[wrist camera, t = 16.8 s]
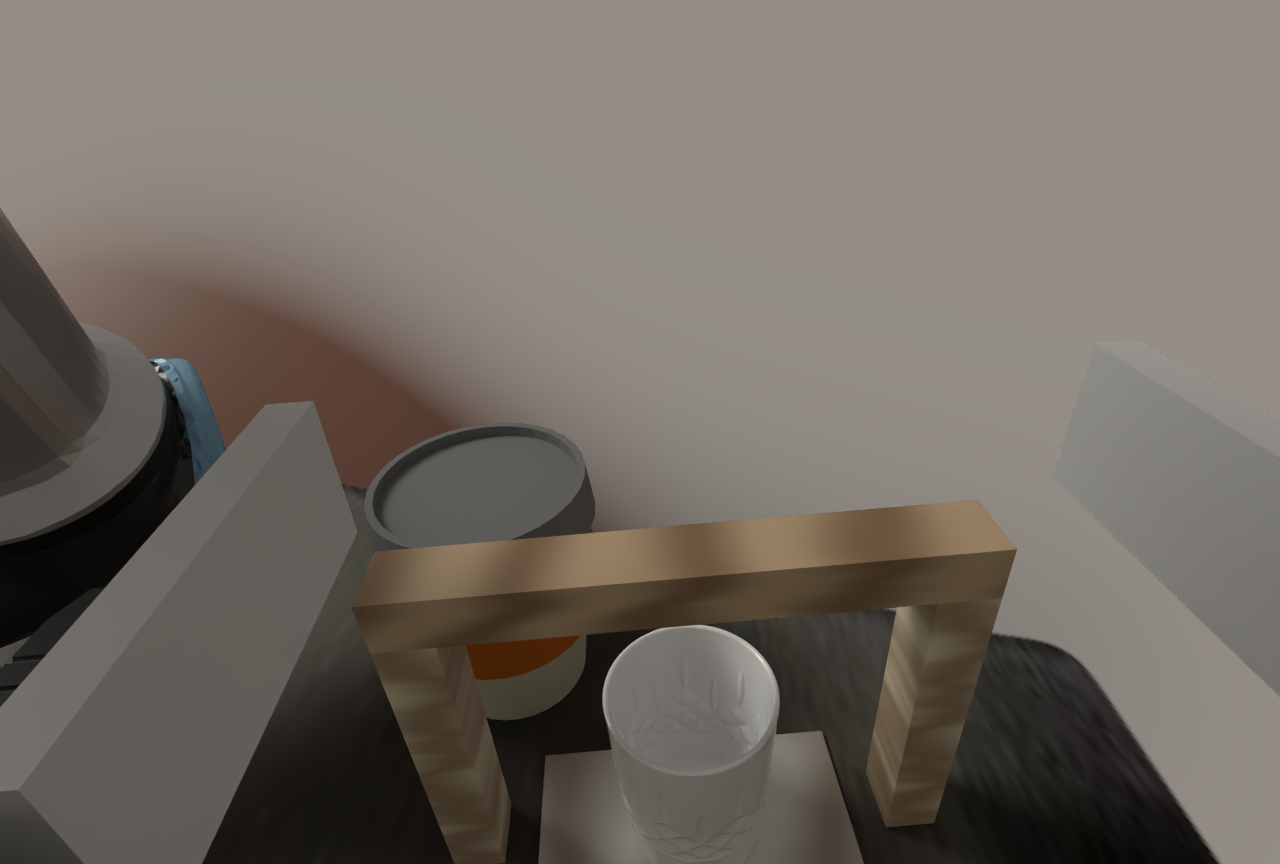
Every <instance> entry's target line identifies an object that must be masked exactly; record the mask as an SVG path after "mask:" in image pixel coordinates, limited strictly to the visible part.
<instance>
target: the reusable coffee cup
mask: <svg viewBox="0 0 1280 864" xmlns="http://www.w3.org/2000/svg"><path fill="white" fill-rule="evenodd" d="M364 508H365V514H366V519H367V524H368V529H369V534H370V539H371V544H372V549H373V554H374V552H376V551H388V550H400V549H412V548H423V547H435V546H447V545H458V544H470V543H482V542H493V541H505V540H517V539H528V538H540V537H552V536H563V535H575V534H587V533H593V532H592V529H591V526H592V522H593V519H594V516H595V500H594V497H593V493H592V489H591V485H590V481H589V477H588V474H587V470H586V466H585V462H584V459H583V456H582V453H581V452H580V451H579V449H578V448H577V446H576V445H575V444H574V443H573V442H572V441H570V440H569V439H568V438H566V437H565V436H563V435H561V434H559V433H557V432H555V431H553V430H550V429H547V428H543V427H539V426H536V425H528V424H522V423H492V424H481V425H475V426H470V427H464V428H461V429H457V430H453V431H449V432H446V433H443V434H441V435H438V436H435V437H432V438H430V439H427V440H425V441H423V442H421V443H419V444H417V445H415V446H413V447H411V448H409V449H408V450H406V451H405V452H403V453H402V454H400V455H399V456H397V457H395V458H394V459H393V460H392V461H391V462H390V463H388V464H387V465H386V466H385V467H384V468H383V469H382V470H381V471H380V472H379V473H378V475H377V476H376V477H375V478H374V480H373V481H372V483H371V485H370V487H369V489H368V491H367V493H366V497H365V503H364ZM465 646H466V649H467V652H468V656H469V659H470V663H471V666H472V670H473V673H474V677H475V680H476V684H477V687H478V690H479V694H480V697H481V701H482V704H483V708H484V711H485V715H486V718H489V719H496V720H516V719H522V718H526V717H530V716H534V715H536V714H538V713H541V712H543V711H545V710H547V709H549V708H550V707H552V706H554V705H555V704H557V703H558V702H560V701H561V700H562V699H563V698H564V697H565V696H566V695H567V694H569V693H570V691H571V690H572V689H573V687H574V686H575V685H576V684H577V682H578V680H579V678H580V676H581V674H582V672H583V669H584V665H585V662H586V635H577V636H566V637H554V638H543V639H531V640H520V641H509V642H497V643H486V644H475V645H465Z"/></svg>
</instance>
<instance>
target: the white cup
mask: <svg viewBox="0 0 1280 864" xmlns="http://www.w3.org/2000/svg"><path fill="white" fill-rule="evenodd" d="M602 701H603V711H604V716H605V720H606V725H607V729H608V734H609V739H610V743H611V748H612V753H613V758H614V763H615V768H616V772H617V776H618V779H619V784H620V789H621V792H622V795H623V800H624V804H625V807H626V809H627V811H628V812H629V816H630V820H631V824H632V827H633V831H634V835H635V839H636V842H637V846H638V848H639V849H640V850H641V851H642V852H643V853H644V855H645V856H646V857H647V858H648V859H649V860H650V862H651V863H652V864H743V863H744V862H745V860H746V858H747V856H748V854H749V852H750V851H751V849H752V847H753V845H754V843H755V841H756V840H757V838H758V835H759V827H760V819H761V813H762V810H763V807H764V803H765V799H766V794H767V787H768V782H769V777H770V772H771V766H772V758H773V751H774V744H775V736H776V729H777V722H778V715H779V708H780V695H779V689H778V684H777V681H776V678H775V676H774V673H773V671H772V669H771V668H770V666H769V664H768V663H767V661H766V660H765V659H764V657H763V656H762V655H761V654H760V653H759V652H758V651H757V650H756V649H755V648H754V647H753V646H752V645H750V644H749V643H748V642H746V641H745V640H743V639H742V638H740V637H738V636H736V635H734V634H732V633H730V632H728V631H725V630H722V629H719V628H716V627H711V626H706V625H691V626H679V627H668V628H660V629H657V630H655V631H652V632H650V633H647V634H645V635H643V636H642V637H640V638H638V639H637V640H635V641H634V642H632V643H631V644H630V645H629V646H627V647H626V648H625V649H624V650H623V651H622V652H621V653H620V654H619V656H618V657H617V658H616V660H615V661H614V662H613V664H612V666H611V668H610V669H609V672H608V674H607V676H606V679H605V683H604V688H603V697H602Z"/></svg>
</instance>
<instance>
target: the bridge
mask: <svg viewBox="0 0 1280 864" xmlns="http://www.w3.org/2000/svg"><path fill="white" fill-rule="evenodd" d="M1016 551H1017V549H1016V548H1015V546H1014V545H1013V544H1012V542H1011V541H1010V540H1009V539H1008V537H1007V536H1006V535H1005V534H1004V532H1003V531H1002V530H1001V529H1000V527H999V526H998V525H997V524H996V523H995V521H994V520H993V519H992V517H991V516H990V515H989V514H988V512H987V511H986V510H985V509H984V507H983V506H982V505H981V504H980V503H979V501H978V500H973V501H961V502H949V503H938V504H926V505H915V506H903V507H891V508H879V509H868V510H856V511H844V512H834V513H821V514H811V515H797V516H786V517H775V518H762V519H751V520H739V521H727V522H715V523H704V524H692V525H680V526H669V527H657V528H645V529H634V530H623V531H611V532H599V533H587V534H575V535H563V536H552V537H540V538H528V539H517V540H505V541H493V542H482V543H470V544H458V545H447V546H435V547H423V548H412V549H400V550H388V551H376V552H374V554H373V556H372V559H371V561H370V564H369V566H368V568H367V571H366V573H365V576H364V578H363V580H362V583H361V585H360V588H359V590H358V593H357V595H356V597H355V600H354V602H353V605H352V610H353V612H354V615H355V617H356V620H357V622H358V625H359V627H360V630H361V632H362V635H363V637H364V640H365V642H366V645H367V647H368V650H369V652H370V655H371V657H372V660H373V662H374V664H375V667H376V669H377V672H378V674H379V677H380V679H381V682H382V684H383V687H384V689H385V692H386V694H387V697H388V699H389V702H390V704H391V707H392V709H393V712H394V714H395V717H396V719H397V722H398V724H399V727H400V729H401V732H402V734H403V737H404V739H405V742H406V744H407V747H408V749H409V752H410V754H411V757H412V759H413V762H414V764H415V767H416V769H417V772H418V774H419V777H420V779H421V782H422V784H423V787H424V789H425V792H426V794H427V797H428V799H429V802H430V804H431V807H432V809H433V812H434V814H435V817H436V819H437V822H438V824H439V826H440V829H441V831H442V834H443V836H444V839H445V841H446V844H447V846H448V849H449V851H450V854H451V856H452V859H453V861H454V864H499V863H505V861H506V851H507V842H508V832H509V823H510V814H511V801H510V798H509V794H508V791H507V787H506V784H505V780H504V777H503V773H502V770H501V766H500V763H499V760H498V756H497V753H496V749H495V746H494V742H493V739H492V735H491V732H490V728H489V725H488V722H487V718H486V715H485V711H484V708H483V704H482V701H481V697H480V694H479V690H478V687H477V684H476V680H475V677H474V673H473V670H472V666H471V663H470V659H469V656H468V652H467V649H466V646H465V645H475V644H486V643H497V642H509V641H520V640H531V639H543V638H554V637H566V636H577V635H588V634H600V633H611V632H623V631H634V630H645V629H657V628H668V627H679V626H691V625H702V624H714V623H725V622H736V621H748V620H759V619H770V618H782V617H793V616H805V615H816V614H827V613H839V612H850V611H862V610H873V609H884V608H896V607H897V612H896V617H895V622H894V627H893V632H892V638H891V643H890V648H889V653H888V659H887V664H886V669H885V674H884V679H883V685H882V690H881V695H880V700H879V705H878V711H877V716H876V721H875V726H874V732H873V737H872V742H871V747H870V752H869V758H868V763H867V768H866V774H867V777H868V780H869V782H870V785H871V788H872V791H873V794H874V796H875V799H876V802H877V805H878V807H879V810H880V813H881V816H882V819H883V821H884V824H885V827H886V828H887V827H898V826H908V825H919V824H930V823H934V822H935V818H936V815H937V812H938V808H939V805H940V802H941V799H942V795H943V792H944V789H945V785H946V782H947V779H948V775H949V772H950V769H951V766H952V762H953V759H954V756H955V752H956V749H957V746H958V742H959V739H960V736H961V732H962V729H963V726H964V723H965V719H966V716H967V713H968V709H969V706H970V703H971V699H972V696H973V693H974V690H975V686H976V683H977V680H978V676H979V673H980V670H981V666H982V663H983V660H984V656H985V653H986V650H987V647H988V643H989V640H990V637H991V633H992V630H993V627H994V623H995V620H996V617H997V613H998V610H999V607H1000V604H1001V600H1002V597H1003V594H1004V590H1005V587H1006V584H1007V581H1008V577H1009V573H1010V571H1011V567H1012V564H1013V561H1014V557H1015V554H1016ZM538 864H652V863H651V862H650V860H649V859H648V858H647V857H646V856H645V855H644V853H643V852H642V851H641V850H640V849H639V848H638V846H637V842H636V839H635V835H634V831H633V827H632V824H631V820H630V816H629V812H628V811H627V809H626V807H625V804H624V800H623V795H622V792H621V789H620V784H619V779H618V776H617V772H616V768H615V763H614V758H613V753H612V750H603V751H591V752H580V753H569V754H558V755H547V756H546V758H545V773H544V787H543V802H542V817H541V832H540V847H539V862H538ZM743 864H864V862H863V859H862V856H861V853H860V850H859V846H858V843H857V840H856V837H855V834H854V831H853V828H852V824H851V821H850V818H849V815H848V812H847V809H846V806H845V803H844V799H843V796H842V793H841V790H840V787H839V784H838V781H837V777H836V774H835V771H834V768H833V765H832V762H831V759H830V755H829V752H828V749H827V746H826V743H825V740H824V737H823V733H822V731H812V732H801V733H790V734H779V735H776V736H775V744H774V751H773V758H772V766H771V772H770V777H769V782H768V787H767V794H766V799H765V803H764V807H763V810H762V813H761V819H760V827H759V835H758V838H757V840H756V841H755V843H754V845H753V847H752V849H751V851H750V852H749V854H748V856H747V858H746V860H745V862H744V863H743Z"/></svg>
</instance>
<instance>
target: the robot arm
mask: <svg viewBox="0 0 1280 864" xmlns="http://www.w3.org/2000/svg"><path fill="white" fill-rule="evenodd" d="M1052 478H1053V479H1054V480H1055V481H1056V482H1058V483H1059V484H1060V485H1061V486H1062V487H1063V488H1064V489H1065V490H1066V491H1067V492H1068V493H1069V494H1070V495H1071V496H1072V497H1073V498H1074V499H1075V500H1076V501H1077V502H1078V503H1079V504H1080V505H1081V506H1083V507H1084V509H1085V510H1087V511H1088V512H1089V513H1090V514H1091V515H1092V516H1093V517H1094V518H1095V519H1096V520H1097V521H1098V522H1099V523H1100V524H1101V525H1102V526H1103V527H1104V528H1105V529H1106V530H1107V531H1108V532H1109V533H1110V534H1111V535H1113V536H1114V537H1115V538H1116V539H1117V540H1118V541H1119V542H1120V543H1121V544H1122V545H1123V546H1124V547H1125V548H1126V549H1127V550H1128V551H1129V552H1130V553H1131V554H1132V555H1133V556H1134V557H1135V558H1136V559H1137V560H1138V561H1139V562H1140V563H1141V564H1143V565H1144V566H1145V567H1146V568H1147V569H1148V570H1149V571H1150V572H1151V573H1152V574H1153V575H1154V576H1155V577H1156V578H1157V579H1158V580H1159V581H1160V582H1161V583H1162V584H1163V585H1164V586H1165V587H1166V588H1167V589H1169V590H1170V591H1171V592H1172V593H1173V594H1174V595H1175V596H1176V597H1177V598H1178V599H1179V600H1180V601H1181V602H1182V603H1183V604H1184V605H1185V606H1186V607H1187V608H1188V609H1189V610H1190V611H1191V612H1192V613H1193V614H1194V615H1195V616H1196V617H1197V618H1199V619H1200V620H1201V621H1202V622H1203V623H1204V624H1205V625H1206V626H1207V627H1208V628H1209V629H1210V630H1211V631H1212V632H1213V633H1214V634H1215V635H1216V636H1217V637H1218V638H1219V639H1220V640H1221V641H1222V642H1223V643H1225V644H1226V645H1227V646H1228V647H1229V648H1230V649H1231V650H1232V651H1233V652H1234V653H1235V654H1236V655H1237V656H1238V657H1239V658H1240V659H1241V660H1242V661H1243V662H1244V663H1245V664H1246V665H1247V666H1248V667H1249V668H1251V669H1252V671H1253V672H1255V673H1256V674H1257V675H1258V676H1259V677H1260V678H1261V679H1262V680H1263V681H1264V682H1265V683H1266V684H1267V685H1268V686H1269V687H1270V688H1271V689H1272V690H1273V691H1274V692H1275V693H1276V694H1277V695H1278V696H1279V697H1280V419H1278V418H1277V417H1275V416H1273V415H1271V414H1269V413H1268V412H1266V411H1264V410H1262V409H1260V408H1258V407H1257V406H1255V405H1253V404H1251V403H1250V402H1248V401H1246V400H1244V399H1243V398H1241V397H1239V396H1237V395H1235V394H1234V393H1232V392H1230V391H1228V390H1227V389H1225V388H1223V387H1221V386H1220V385H1218V384H1216V383H1214V382H1212V381H1210V380H1209V379H1207V378H1205V377H1203V376H1202V375H1200V374H1198V373H1196V372H1195V371H1193V370H1191V369H1189V368H1187V367H1186V366H1184V365H1182V364H1180V363H1178V362H1177V361H1175V360H1173V359H1171V358H1169V357H1168V356H1166V355H1164V354H1162V353H1161V352H1159V351H1157V350H1155V349H1154V348H1152V347H1150V346H1148V345H1146V344H1145V343H1143V342H1141V341H1139V340H1129V341H1116V342H1103V343H1094V345H1093V348H1092V351H1091V354H1090V357H1089V361H1088V364H1087V367H1086V370H1085V373H1084V376H1083V380H1082V383H1081V386H1080V389H1079V392H1078V396H1077V399H1076V402H1075V405H1074V408H1073V411H1072V415H1071V418H1070V421H1069V424H1068V427H1067V430H1066V434H1065V437H1064V440H1063V443H1062V446H1061V449H1060V453H1059V456H1058V459H1057V462H1056V465H1055V468H1054V472H1053V475H1052ZM356 534H357V529H356V526H355V523H354V520H353V517H352V514H351V511H350V508H349V505H348V502H347V500H346V497H345V494H344V491H343V488H342V485H341V482H340V479H339V476H338V473H337V470H336V467H335V464H334V461H333V458H332V455H331V453H330V450H329V447H328V444H327V441H326V438H325V435H324V432H323V429H322V426H321V423H320V420H319V418H318V414H317V411H316V409H315V406H314V402H313V401H307V402H295V403H280V404H267V405H265V406H264V407H263V409H262V410H261V411H260V412H259V413H258V414H257V416H256V417H255V418H254V419H253V420H252V421H251V422H250V423H249V424H248V426H247V427H246V428H245V429H244V430H243V431H242V432H241V434H240V435H239V436H238V437H237V438H236V439H235V440H234V442H233V443H232V444H231V445H230V446H229V447H228V448H227V450H226V448H225V445H224V442H223V439H222V435H221V433H220V430H219V427H218V424H217V421H216V418H215V416H214V413H213V410H212V408H211V405H210V402H209V399H208V397H207V394H206V392H205V389H204V387H203V384H202V382H201V380H200V377H199V375H198V374H197V371H196V369H195V368H194V367H193V366H192V364H191V363H190V362H188V361H185V360H183V359H180V358H172V359H162V358H157V357H156V358H155V359H150V360H148V359H147V358H146V357H145V356H144V355H143V354H142V352H141V351H140V350H139V349H138V348H136V347H135V346H134V345H132V344H131V343H130V342H129V341H127V340H125V339H124V338H122V337H120V336H118V335H116V334H114V333H112V332H110V331H107V330H105V329H102V328H100V327H97V326H93V325H90V324H86V323H83V322H78V321H77V320H76V318H75V317H74V315H73V314H72V312H71V311H70V309H69V308H68V306H67V305H66V303H65V302H64V301H63V299H62V298H61V296H60V295H59V293H58V292H57V290H56V289H55V288H54V286H53V284H52V283H51V282H50V280H49V279H48V277H47V276H46V274H45V273H44V271H43V270H42V268H41V267H40V265H39V264H38V263H37V261H36V260H35V258H34V257H33V255H32V254H31V252H30V251H29V249H28V248H27V246H26V245H25V243H24V242H23V241H22V239H21V238H20V237H19V235H18V233H17V232H16V230H15V229H14V228H13V226H12V224H11V223H10V221H9V220H8V219H7V217H6V216H5V214H4V213H3V211H2V210H1V208H0V648H2V647H4V646H7V645H9V644H12V643H15V642H17V641H20V640H22V639H25V638H27V637H30V636H31V637H30V638H29V639H28V641H27V642H26V643H25V644H24V645H23V646H22V647H21V648H20V649H19V650H18V651H17V652H16V653H15V655H14V656H13V657H12V658H13V662H12V663H11V664H5V665H4V666H3V667H0V864H202V863H203V860H204V858H205V856H206V854H207V852H208V850H209V848H210V846H211V843H212V841H213V839H214V837H215V835H216V833H217V831H218V828H219V826H220V824H221V822H222V820H223V818H224V816H225V814H226V811H227V809H228V807H229V805H230V803H231V801H232V799H233V797H234V794H235V792H236V790H237V788H238V786H239V784H240V782H241V779H242V777H243V775H244V773H245V771H246V769H247V767H248V765H249V762H250V760H251V758H252V756H253V754H254V752H255V750H256V748H257V745H258V743H259V741H260V739H261V737H262V735H263V733H264V730H265V728H266V726H267V724H268V722H269V720H270V718H271V716H272V713H273V711H274V709H275V707H276V705H277V703H278V701H279V699H280V696H281V694H282V692H283V690H284V688H285V686H286V684H287V681H288V679H289V677H290V675H291V673H292V671H293V669H294V667H295V664H296V662H297V660H298V658H299V656H300V654H301V652H302V650H303V647H304V645H305V643H306V641H307V639H308V637H309V635H310V632H311V630H312V628H313V626H314V624H315V622H316V620H317V618H318V615H319V613H320V611H321V609H322V607H323V605H324V603H325V601H326V598H327V596H328V594H329V592H330V590H331V588H332V586H333V583H334V581H335V579H336V577H337V575H338V573H339V571H340V569H341V566H342V564H343V562H344V560H345V558H346V556H347V554H348V552H349V549H350V547H351V545H352V543H353V541H354V539H355V537H356Z"/></svg>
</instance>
